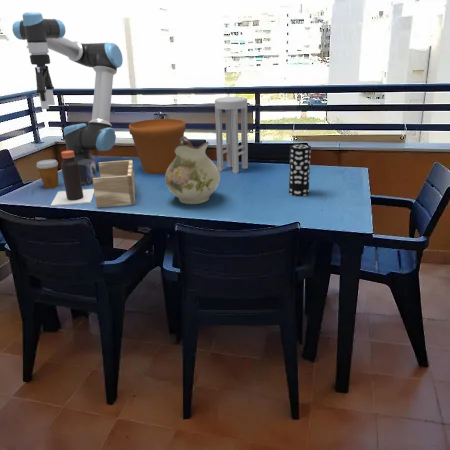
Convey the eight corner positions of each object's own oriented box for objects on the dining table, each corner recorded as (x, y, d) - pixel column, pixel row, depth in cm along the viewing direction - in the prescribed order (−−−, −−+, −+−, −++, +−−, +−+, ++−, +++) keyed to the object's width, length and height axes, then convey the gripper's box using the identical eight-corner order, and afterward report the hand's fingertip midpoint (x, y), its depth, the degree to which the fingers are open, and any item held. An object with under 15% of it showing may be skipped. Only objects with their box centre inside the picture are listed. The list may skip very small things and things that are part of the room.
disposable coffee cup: (66, 184, 208) (62, 160, 203) (51, 190, 200) (46, 165, 195) (51, 182, 212) (46, 158, 207) (36, 188, 204) (31, 163, 199)
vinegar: (79, 194, 192) (71, 149, 184) (86, 197, 187) (78, 151, 179) (64, 198, 188) (56, 152, 180) (71, 201, 183) (63, 154, 175)
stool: (253, 167, 226) (252, 97, 213) (237, 174, 214) (236, 101, 201) (227, 164, 234) (226, 96, 221) (211, 171, 222) (208, 100, 209)
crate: (102, 187, 202) (98, 162, 197) (135, 185, 204) (132, 159, 199) (96, 207, 177) (92, 179, 172) (134, 204, 179) (131, 176, 175)
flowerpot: (165, 159, 247) (161, 117, 238) (199, 167, 229) (196, 122, 220) (123, 170, 229) (117, 124, 220) (156, 179, 211) (151, 130, 202)
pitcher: (200, 212, 168) (197, 147, 159) (153, 202, 180) (147, 142, 171) (230, 195, 186) (229, 137, 177) (186, 188, 198) (182, 132, 188)
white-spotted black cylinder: (296, 197, 181) (298, 149, 173) (285, 192, 188) (286, 146, 180) (312, 194, 185) (315, 147, 177) (300, 188, 191) (302, 143, 184)
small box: (88, 186, 205) (84, 164, 201) (75, 185, 206) (71, 164, 202) (98, 179, 214) (95, 158, 210) (86, 179, 215) (82, 158, 211)
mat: (58, 192, 196) (58, 191, 196) (95, 189, 199) (94, 188, 199) (50, 206, 180) (50, 205, 180) (90, 203, 182) (90, 201, 182)
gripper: (36, 53, 191) (45, 103, 200) (22, 55, 169) (33, 111, 177) (54, 53, 193) (62, 102, 201) (42, 54, 170) (52, 110, 178)
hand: (48, 106), depth 189 cm, fingers open, 13 cm apart
